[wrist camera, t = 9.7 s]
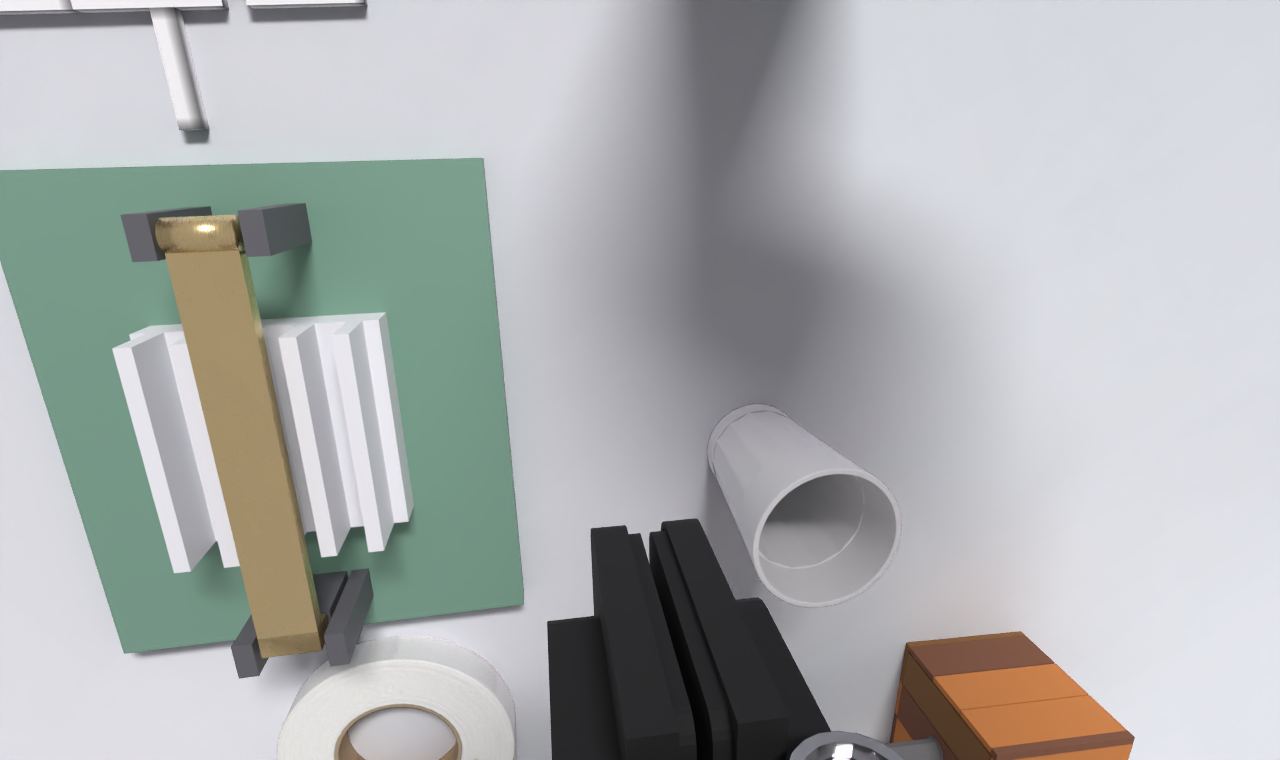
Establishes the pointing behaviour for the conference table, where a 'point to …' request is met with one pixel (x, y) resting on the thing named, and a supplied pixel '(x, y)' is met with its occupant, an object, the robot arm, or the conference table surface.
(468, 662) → the roll of tape
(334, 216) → the motherboard
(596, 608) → the robot arm
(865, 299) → the conference table surface
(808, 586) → the cup
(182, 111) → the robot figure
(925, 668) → the clamp
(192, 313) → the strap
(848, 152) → the conference table surface
